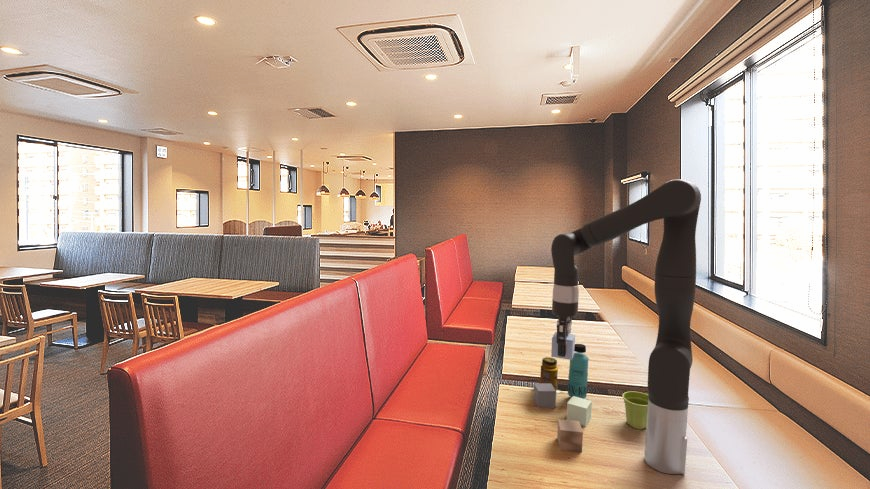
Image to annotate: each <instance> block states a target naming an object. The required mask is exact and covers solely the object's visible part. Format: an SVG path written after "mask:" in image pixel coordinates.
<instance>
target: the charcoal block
mask: <svg viewBox="0 0 870 489" xmlns="http://www.w3.org/2000/svg"><path fill="white" fill-rule="evenodd" d="M533 389H534V391H533V402H534V403H535V406H536V407H537V408H538V409H556V406H557V394H556V390H555V389H554V387H553V386H552V384H551V383H540V382H539V383H536V382H535V383H533Z"/></svg>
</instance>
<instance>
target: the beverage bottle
mask: <svg viewBox="0 0 870 489" xmlns="http://www.w3.org/2000/svg"><path fill="white" fill-rule="evenodd" d="M586 351H587V347H586V345H585V344H583V343H575V348H574V356H573V358H572V360H569V370H568V375H567V376H568V377H567V378H568V381H567V395H568V397H570V399H571V398H572V397H573V396H575V397H579V398H583V399H586V398H587V394H588V385H589V384H588V378H589V377H588V376H589V372H588V371H589V360H590V359H589V357H588V356H587V355H586V354H585V353H586Z"/></svg>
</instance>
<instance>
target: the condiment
mask: <svg viewBox="0 0 870 489" xmlns="http://www.w3.org/2000/svg"><path fill="white" fill-rule="evenodd" d="M558 368H559V367H558V360H557V359H556V358H555V357H551V356H548V357H547V356H546V357H543V358H542V360H541V366H540V375H539V376H540V378H539V379H540V381H539V383H551V384H552V386H553V387H554V389H555V390H556V391H561V390H559V389H558V376H559V375H558V370H559V369H558ZM530 390H532V391H533V392H534V388H531V389H530ZM562 392H563V391H561V392H556V395H558V394H560V393H562Z"/></svg>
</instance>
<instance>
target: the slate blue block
mask: <svg viewBox="0 0 870 489" xmlns="http://www.w3.org/2000/svg"><path fill="white" fill-rule="evenodd" d="M556 340H557V331H555V332H554V333H553V335H552V337H551V354H550V355H551V356H550V358H555V359H556V358H557V359H563V360H569V361H570V360H572V358H573V356H574V353H575V351H574V348H575V344H576V343H575V341H576V334H571V333H570V334H569V337H567V344H566V355H565V357H562V356H558V344H557V342H556ZM560 340H564V338H563V337H560Z"/></svg>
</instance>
